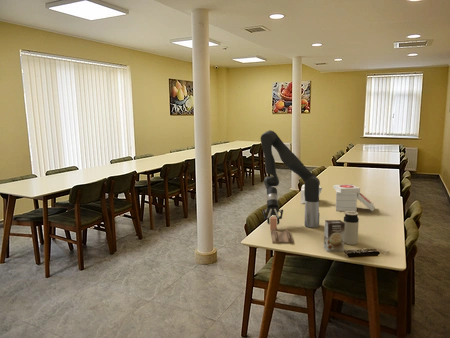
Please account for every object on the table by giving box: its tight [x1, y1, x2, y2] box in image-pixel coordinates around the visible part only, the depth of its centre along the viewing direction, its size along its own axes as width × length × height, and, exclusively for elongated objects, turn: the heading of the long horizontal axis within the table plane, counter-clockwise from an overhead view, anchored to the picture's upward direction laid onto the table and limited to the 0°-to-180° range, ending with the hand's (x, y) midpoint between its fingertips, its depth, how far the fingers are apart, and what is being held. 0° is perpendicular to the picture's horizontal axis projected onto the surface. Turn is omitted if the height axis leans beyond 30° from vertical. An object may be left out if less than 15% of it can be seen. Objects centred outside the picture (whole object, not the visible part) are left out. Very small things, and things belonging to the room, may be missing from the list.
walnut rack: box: [270, 228, 294, 244], centre depth 211 cm, size 12×18×3 cm, turn 176°
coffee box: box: [323, 219, 345, 253], centre depth 190 cm, size 9×6×16 cm
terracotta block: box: [269, 216, 278, 231], centre depth 227 cm, size 4×4×8 cm
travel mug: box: [343, 211, 360, 246], centre depth 200 cm, size 8×8×18 cm
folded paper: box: [300, 183, 323, 205], centre depth 296 cm, size 17×24×17 cm
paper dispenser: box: [333, 184, 376, 213], centre depth 269 cm, size 19×30×18 cm, turn 73°
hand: (273, 224), depth 225 cm, fingers open, 5 cm apart
